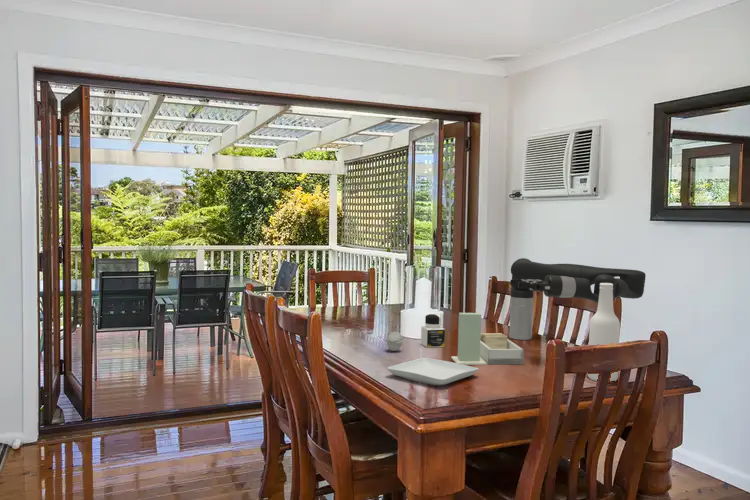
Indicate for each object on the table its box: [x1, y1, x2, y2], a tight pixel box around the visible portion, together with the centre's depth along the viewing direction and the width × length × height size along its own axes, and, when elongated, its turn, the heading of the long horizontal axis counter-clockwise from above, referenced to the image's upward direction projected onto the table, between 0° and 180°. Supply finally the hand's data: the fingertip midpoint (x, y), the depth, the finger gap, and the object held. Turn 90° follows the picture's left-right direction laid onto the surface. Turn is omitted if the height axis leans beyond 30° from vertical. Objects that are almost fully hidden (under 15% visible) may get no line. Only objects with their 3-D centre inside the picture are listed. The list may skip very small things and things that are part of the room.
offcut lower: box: [482, 341, 507, 349], centre depth 222 cm, size 6×8×2 cm
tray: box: [480, 338, 525, 365], centre depth 216 cm, size 20×12×5 cm, turn 5°
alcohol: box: [587, 283, 621, 382], centre depth 188 cm, size 9×9×30 cm
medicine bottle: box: [420, 313, 446, 349], centre depth 234 cm, size 7×7×12 cm
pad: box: [450, 355, 488, 366], centre depth 209 cm, size 10×10×1 cm
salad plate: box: [386, 357, 480, 387], centre depth 188 cm, size 21×21×3 cm
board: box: [457, 312, 482, 361], centre depth 208 cm, size 4×7×16 cm, turn 93°
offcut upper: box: [480, 332, 508, 343], centre depth 222 cm, size 6×8×2 cm
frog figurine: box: [386, 331, 404, 352], centre depth 223 cm, size 6×7×7 cm
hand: (514, 283), depth 211 cm, fingers open, 8 cm apart
